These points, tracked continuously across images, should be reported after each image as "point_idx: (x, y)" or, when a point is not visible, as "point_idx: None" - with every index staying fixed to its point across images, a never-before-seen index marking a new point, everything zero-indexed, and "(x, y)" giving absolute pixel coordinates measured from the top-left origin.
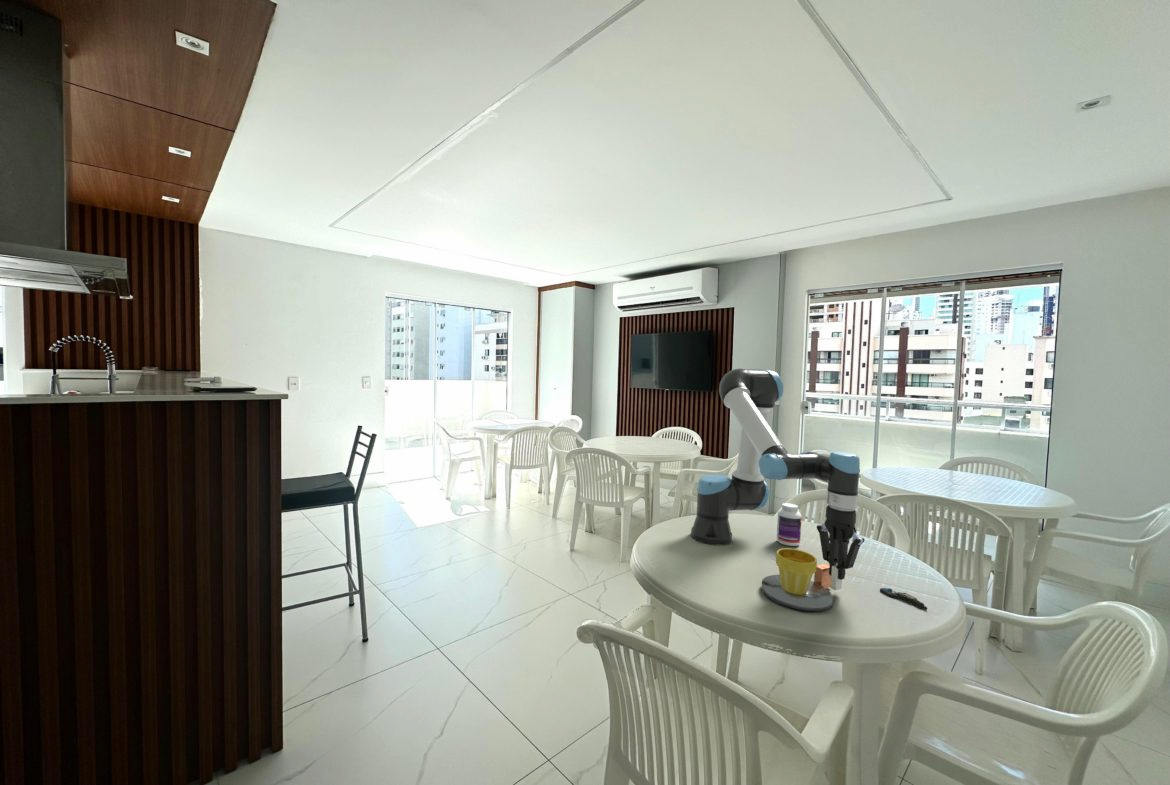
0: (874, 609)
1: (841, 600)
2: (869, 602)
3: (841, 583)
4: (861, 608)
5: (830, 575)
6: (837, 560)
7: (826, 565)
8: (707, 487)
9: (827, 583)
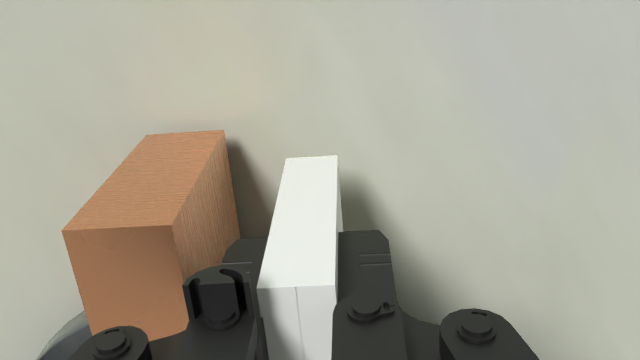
0: (635, 99)
1: (409, 220)
2: (545, 14)
3: (336, 179)
4: (566, 188)
5: (201, 199)
6: (253, 349)
7: (118, 258)
8: None
9: (225, 204)
